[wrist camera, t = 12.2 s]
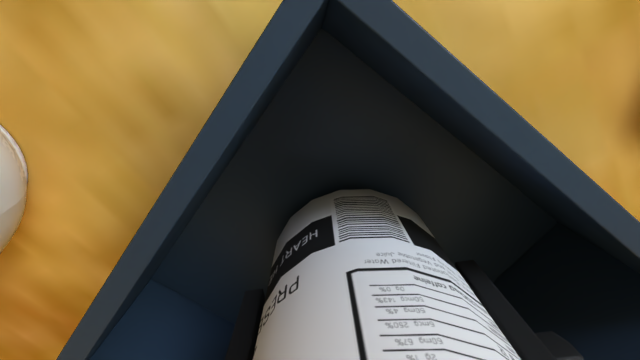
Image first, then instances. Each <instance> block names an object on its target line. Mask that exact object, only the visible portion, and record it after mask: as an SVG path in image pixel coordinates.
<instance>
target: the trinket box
mask: <svg viewBox="0 0 640 360" xmlns="http://www.w3.org/2000/svg"><path fill="white" fill-rule="evenodd" d="M27 183H28V172H27V165H26V162H25V159H24V156H23V154H22V152H21V150H20V148H19V146H18V145H17V143H16V142H15V140H14V139H13V138H12V136H11V135H10V134H9V133H8V132H7V131H6V130H5V129H4V128H3V127H2V126H1V125H0V253H1V252H2V251H3V249H4V248H5V247H6V246H7V244H8V243H9V241H10V240H11V239H12V237H13V236H14V234H15V233H16V231H17V229H18V226H19V224H20V222H21V219H22V217H23V214H24V210H25V205H26V194H27Z"/></svg>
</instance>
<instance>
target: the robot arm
mask: <svg viewBox="0 0 640 360" xmlns="http://www.w3.org/2000/svg"><path fill="white" fill-rule="evenodd" d="M455 267H456V269H457V270H458V271H459V273H460V274H461V276H462V277H463V278H464V280H465V281H466V283H467V284H468V285H469V287H470V288H471V290H472V291H473V293H474V294H475V295H476V297H477V298H478V300H479V301H480V302H481V304H482V305H483V307H484V308H485V309H486V311H487V312H488V314H489V315H490V316H491V318H492V319H493V321H494V322H495V323H496V325H497V326H498V328H499V329H500V330H501V332H502V333H503V335H504V336H505V337H506V339H507V340H508V342H509V343H510V344H511V346H512V347H513V349H514V350H515V351H516V353H517V354H518V356H519V357H520V358H521V360H584V358H583V356H582V355H581V354H580V353H579V352H578V351H577V350H576V349H575V348H574V347H573V346H572V345H571V343H570V342H568V341H567V340H565V339H563V338H562V337H560V336H559V335H557V334H556V333H554V332H553V331H547V332H539V333H534V332H533V331H532V329H531V328H530V327H529V326H528V325H527V323H526V322H525V321H524V320H523V319H522V317H521V316H520V315H519V314H518V313H517V311H516V310H515V309H514V308H513V307H512V305H511V304H510V303H509V302H508V301H507V299H506V298H505V297H504V296H503V295H502V293H501V292H500V291H499V290H498V289H497V287H496V286H495V285H494V284H493V283H492V281H491V280H490V279H489V278H488V277H487V275H486V274H485V273H484V272H483V271H482V269H481V268H480V267H479V266H478V265H477V263H476V262H475V261H474V260H467V261H460V262H455ZM264 302H265V295H264V291H263V288H262V289H255V290H247V291H245V294H244V297H243V300H242V304H241V307H240V310H239V314H238V317H237V320H236V324H235V327H234V330H233V334H232V337H231V340H230V344H229V347H228V350H227V354H226V357H225V360H253V356H254V351H255V346H256V341H257V336H258V331H259V327H260V322H261V317H262V312H263V307H264Z"/></svg>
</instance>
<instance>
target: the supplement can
mask: <svg viewBox="0 0 640 360" xmlns="http://www.w3.org/2000/svg"><path fill="white" fill-rule="evenodd" d="M253 360H521V358H520V357H519V356H518V354H517V353H516V351H515V350H514V349H513V347H512V346H511V344H510V343H509V342H508V340H507V339H506V337H505V336H504V335H503V333H502V332H501V330H500V329H499V328H498V326H497V325H496V323H495V322H494V321H493V319H492V318H491V316H490V315H489V314H488V312H487V311H486V309H485V308H484V307H483V305H482V304H481V302H480V301H479V300H478V298H477V297H476V295H475V294H474V293H473V291H472V290H471V288H470V287H469V285H468V284H467V283H466V281H465V280H464V278H463V277H462V276H461V274H460V273H459V271H458V270H457V269H456V267H455V266H454V264H453V263H452V262H451V260H450V259H449V257H448V256H447V255H446V253H445V252H444V250H443V249H442V248H441V246H440V245H439V243H438V242H437V241H436V239H435V238H434V236H433V235H432V234H431V232H430V231H429V229H428V228H427V227H426V225H425V224H424V222H423V221H422V220H421V218H420V217H419V215H418V214H417V213H415V212H414V211H413V210H412V209H410V208H409V207H408V206H407V205H405V204H404V203H403V202H402V201H400V200H399V199H398V198H396V197H393V196H389V195H386V194H383V193H380V192H377V191H374V190H371V189H355V190H338V191H335V192H333V193H330V194H327V195H324V196H322V197H319V198H316V199H313V200H311V201H310V202H309V203H308V204H306V205H305V206H304V207H303V208H302V209H300V210H299V211H298V212H297V213H295V214H294V215H293V216H292V217H291V218H290V219H289V221H288V223H287V224H286V226H285V228H284V229H283V231H282V233H281V235H280V236H279V238H278V240H277V244H276V249H275V253H274V258H273V263H272V268H271V273H270V278H269V283H268V288H267V292H266V297H265V302H264V307H263V312H262V317H261V322H260V327H259V331H258V336H257V341H256V346H255V351H254V356H253Z"/></svg>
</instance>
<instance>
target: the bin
mask: <svg viewBox="0 0 640 360" xmlns="http://www.w3.org/2000/svg"><path fill="white" fill-rule="evenodd" d="M355 189H371V190H374V191H377V192H380V193H383V194H386V195H389V196H393V197H396V198H398V199H399V200H400V201H402V202H403V203H404V204H405V205H407V206H408V207H409V208H410V209H412V210H413V211H414V212H415V213H417V214H418V215H419V217H420V218H421V220H422V221H423V222H424V224H425V225H426V227H427V228H428V229H429V231H430V232H431V234H432V235H433V236H434V238H435V239H436V241H437V242H438V243H439V245H440V246H441V248H442V249H443V250H444V252H445V253H446V255H447V256H448V257H449V259H450V260H451V262H452V263H453V264H454V266H455V262H460V261H467V260H474V261H475V262H476V263H477V265H478V266H479V267H480V268H481V269H482V271H483V272H484V273H485V274H486V275H487V277H488V278H489V279H490V280H491V281H492V283H493V284H494V285H495V286H496V287H497V289H498V290H499V291H500V292H501V293H502V295H503V296H504V297H505V298H506V299H507V301H508V302H509V303H510V304H511V305H512V307H513V308H514V309H515V310H516V311H517V313H518V314H519V315H520V316H521V317H522V319H523V320H524V321H525V322H526V323H527V325H528V326H529V327H530V328H531V329H532V331H533V332H534V333H539V332H547V331H553V332H554V333H556V334H557V335H559V336H560V337H562V338H563V339H565V340H567V341H568V342H570V343H571V345H572V346H573V347H574V348H575V349H576V350H577V351H578V352H579V353H580V354H581V355H582V356H583V358H584V360H640V222H639V221H638V220H637V219H635V218H634V217H633V216H632V215H631V214H630V213H629V212H628V211H626V210H625V209H624V208H623V207H622V206H621V205H620V204H619V203H618V202H616V201H615V200H614V199H613V198H612V197H611V196H610V195H609V194H608V193H606V192H605V191H604V190H603V189H602V188H601V187H600V186H599V185H597V184H596V183H595V182H594V181H593V180H592V179H591V178H590V177H589V176H587V175H586V174H585V173H584V172H583V171H582V170H581V169H580V168H578V167H577V166H576V165H575V164H574V163H573V162H572V161H571V160H570V159H568V158H567V157H566V156H565V155H564V154H563V153H562V152H561V151H560V150H558V149H557V148H556V147H555V146H554V145H553V144H552V143H551V142H549V141H548V140H547V139H546V138H545V137H544V136H543V135H542V134H541V133H539V132H538V131H537V130H536V129H535V128H534V127H533V126H532V125H530V124H529V123H528V122H527V121H526V120H525V119H524V118H523V117H522V116H520V115H519V114H518V113H517V112H516V111H515V110H514V109H513V108H512V107H510V106H509V105H508V104H507V103H506V102H505V101H504V100H503V99H501V98H500V97H499V96H498V95H497V94H496V93H495V92H494V91H493V90H491V89H490V88H489V87H488V86H487V85H486V84H485V83H484V82H482V81H481V80H480V79H479V78H478V77H477V76H476V75H475V74H474V73H472V72H471V71H470V70H469V69H468V68H467V67H466V66H465V65H464V64H462V63H461V62H460V61H459V60H458V59H457V58H456V57H455V56H453V55H452V54H451V53H450V52H449V51H448V50H447V49H446V48H445V47H443V46H442V45H441V44H440V43H439V42H438V41H437V40H436V39H434V38H433V37H432V36H431V35H430V34H429V33H428V32H427V31H426V30H424V29H423V28H422V27H421V26H420V25H419V24H418V23H417V22H416V21H414V20H413V19H412V18H411V17H410V16H409V15H408V14H407V13H405V12H404V11H403V10H402V9H401V8H400V7H399V6H398V5H397V4H395V3H394V2H393V1H392V0H283V1H282V3H281V4H280V6H279V7H278V9H277V11H276V12H275V14H274V15H273V17H272V19H271V20H270V22H269V23H268V25H267V26H266V28H265V30H264V31H263V33H262V34H261V36H260V38H259V39H258V41H257V42H256V44H255V45H254V47H253V49H252V50H251V52H250V53H249V55H248V57H247V58H246V60H245V61H244V63H243V64H242V66H241V68H240V69H239V71H238V72H237V74H236V76H235V77H234V79H233V80H232V82H231V83H230V85H229V87H228V88H227V90H226V91H225V93H224V95H223V96H222V98H221V99H220V101H219V102H218V104H217V106H216V107H215V109H214V110H213V112H212V114H211V115H210V117H209V118H208V120H207V121H206V123H205V125H204V126H203V128H202V129H201V131H200V133H199V134H198V136H197V137H196V139H195V140H194V142H193V144H192V145H191V147H190V148H189V150H188V152H187V153H186V155H185V156H184V158H183V159H182V161H181V163H180V164H179V166H178V167H177V169H176V171H175V172H174V174H173V175H172V177H171V179H170V180H169V182H168V183H167V185H166V186H165V188H164V190H163V191H162V193H161V194H160V196H159V198H158V199H157V201H156V202H155V204H154V205H153V207H152V209H151V210H150V212H149V213H148V215H147V217H146V218H145V220H144V221H143V223H142V224H141V226H140V228H139V229H138V231H137V232H136V234H135V236H134V237H133V239H132V240H131V242H130V243H129V245H128V247H127V248H126V250H125V251H124V253H123V255H122V256H121V258H120V259H119V261H118V262H117V264H116V266H115V267H114V269H113V270H112V272H111V274H110V275H109V277H108V278H107V280H106V281H105V283H104V285H103V286H102V288H101V289H100V291H99V293H98V294H97V296H96V297H95V299H94V300H93V302H92V304H91V305H90V307H89V308H88V310H87V312H86V313H85V315H84V316H83V318H82V320H81V321H80V323H79V324H78V326H77V327H76V329H75V331H74V332H73V334H72V335H71V337H70V339H69V340H68V342H67V343H66V345H65V346H64V348H63V350H62V351H61V353H60V354H59V356H58V358H57V359H56V360H225V357H226V354H227V350H228V347H229V344H230V340H231V337H232V334H233V330H234V327H235V324H236V320H237V317H238V314H239V310H240V307H241V304H242V300H243V297H244V294H245V291H247V290H255V289H262V288H263V291H264V295H265V297H266V292H267V288H268V283H269V278H270V273H271V268H272V263H273V258H274V253H275V249H276V244H277V240H278V238H279V236H280V235H281V233H282V231H283V229H284V228H285V226H286V224H287V223H288V221H289V219H290V218H291V217H292V216H293V215H294V214H295V213H297V212H298V211H299V210H300V209H302V208H303V207H304V206H305V205H306V204H308V203H309V202H310V201H311V200H313V199H316V198H319V197H322V196H324V195H327V194H330V193H333V192H335V191H338V190H355Z"/></svg>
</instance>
